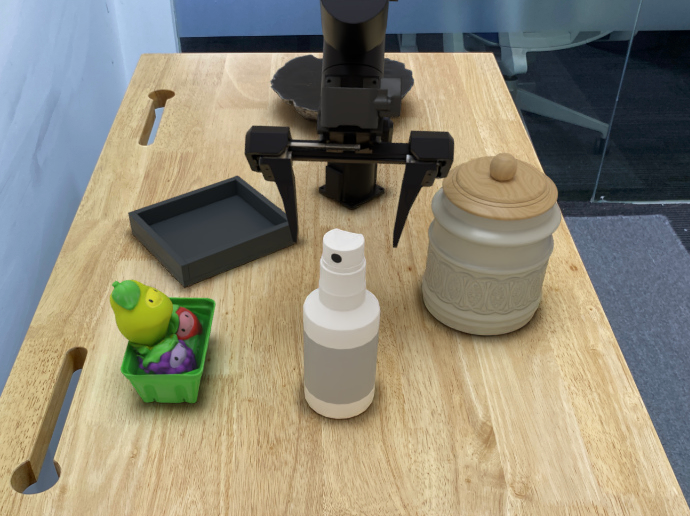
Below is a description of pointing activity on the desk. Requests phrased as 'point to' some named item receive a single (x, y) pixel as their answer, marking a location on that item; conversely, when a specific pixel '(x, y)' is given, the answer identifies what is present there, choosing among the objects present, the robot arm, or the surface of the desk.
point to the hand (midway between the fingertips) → (344, 245)
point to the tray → (211, 229)
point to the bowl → (320, 82)
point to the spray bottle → (341, 331)
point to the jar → (490, 244)
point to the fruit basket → (162, 340)
